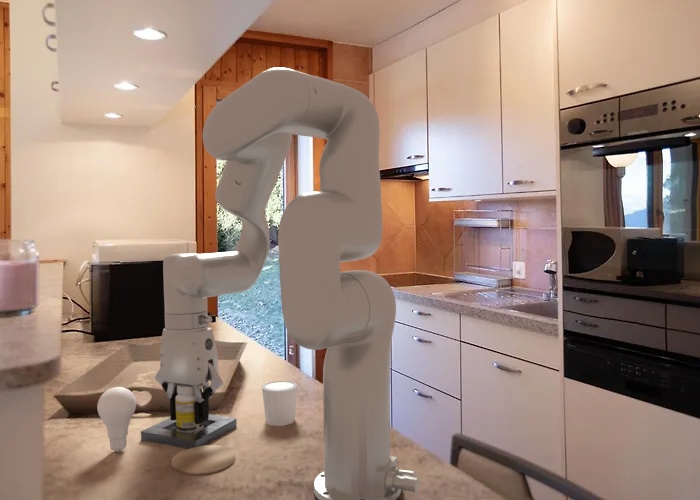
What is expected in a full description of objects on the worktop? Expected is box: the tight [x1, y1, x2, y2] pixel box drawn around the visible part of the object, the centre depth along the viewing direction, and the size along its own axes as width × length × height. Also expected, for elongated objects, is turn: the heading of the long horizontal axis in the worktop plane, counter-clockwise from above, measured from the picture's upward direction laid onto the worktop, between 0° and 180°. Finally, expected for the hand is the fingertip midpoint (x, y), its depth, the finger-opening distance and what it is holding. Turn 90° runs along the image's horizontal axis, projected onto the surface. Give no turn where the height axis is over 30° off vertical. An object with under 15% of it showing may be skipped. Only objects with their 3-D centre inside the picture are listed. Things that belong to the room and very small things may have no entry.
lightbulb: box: [96, 386, 137, 453], centre depth 97 cm, size 6×6×11 cm
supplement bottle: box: [175, 384, 204, 434], centre depth 105 cm, size 5×5×8 cm
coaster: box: [171, 444, 236, 475], centre depth 93 cm, size 10×10×1 cm
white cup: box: [261, 380, 298, 427], centre depth 112 cm, size 7×7×7 cm
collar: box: [140, 413, 238, 450], centre depth 105 cm, size 12×12×2 cm
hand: (189, 418), depth 105 cm, fingers closed on supplement bottle, 4 cm apart
